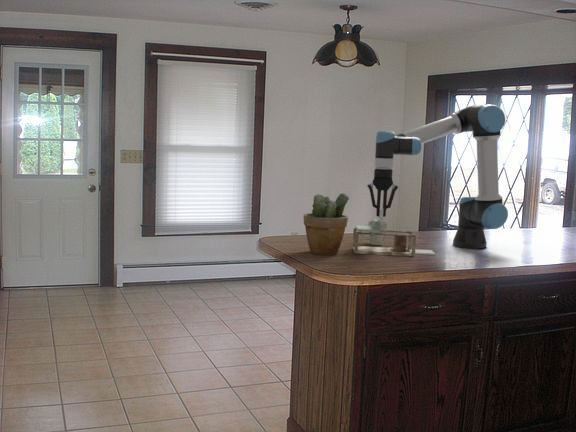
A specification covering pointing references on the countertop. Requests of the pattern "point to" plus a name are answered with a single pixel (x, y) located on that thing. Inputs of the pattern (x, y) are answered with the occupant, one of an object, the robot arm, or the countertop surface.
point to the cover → (369, 227)
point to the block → (400, 243)
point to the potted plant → (326, 224)
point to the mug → (376, 238)
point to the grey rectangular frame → (384, 250)
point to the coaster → (424, 252)
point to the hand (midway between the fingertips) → (380, 224)
